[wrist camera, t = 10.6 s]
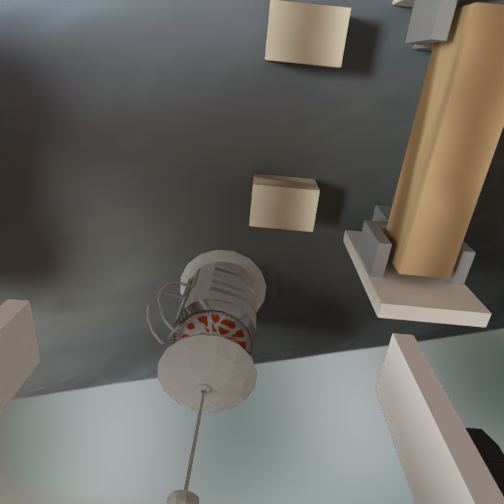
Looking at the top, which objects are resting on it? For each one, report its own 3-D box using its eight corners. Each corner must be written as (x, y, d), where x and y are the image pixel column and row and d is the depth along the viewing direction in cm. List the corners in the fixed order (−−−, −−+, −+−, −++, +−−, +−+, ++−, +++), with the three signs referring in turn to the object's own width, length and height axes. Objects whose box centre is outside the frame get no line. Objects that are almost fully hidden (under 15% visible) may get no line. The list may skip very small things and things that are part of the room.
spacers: (250, 211, 40) (249, 225, 37) (269, 6, 33) (270, -1, 29) (308, 217, 40) (312, 232, 37) (341, 14, 33) (351, 7, 29)
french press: (230, 338, 47) (198, 588, 25) (149, 284, 44) (30, 510, 22) (284, 284, 44) (305, 517, 21) (201, 221, 41) (122, 414, 18)
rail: (381, 247, 35) (398, 273, 30) (441, 12, 27) (476, 2, 23) (425, 251, 35) (449, 278, 31) (498, 18, 27) (544, 9, 23)
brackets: (343, 240, 41) (377, 317, 29) (395, -13, 32) (482, -65, 19) (418, 247, 41) (485, 327, 29) (493, -3, 32) (644, -47, 19)
